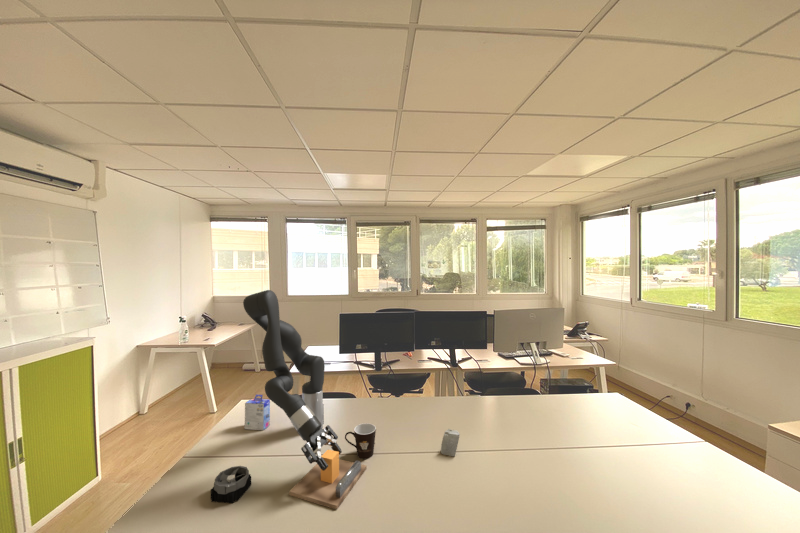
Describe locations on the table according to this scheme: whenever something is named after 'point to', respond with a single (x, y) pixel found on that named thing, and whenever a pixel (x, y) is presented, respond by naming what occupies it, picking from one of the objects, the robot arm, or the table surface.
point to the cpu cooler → (231, 484)
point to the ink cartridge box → (257, 413)
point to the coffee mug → (364, 439)
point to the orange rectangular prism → (330, 466)
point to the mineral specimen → (450, 442)
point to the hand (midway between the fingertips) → (333, 461)
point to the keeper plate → (329, 484)
